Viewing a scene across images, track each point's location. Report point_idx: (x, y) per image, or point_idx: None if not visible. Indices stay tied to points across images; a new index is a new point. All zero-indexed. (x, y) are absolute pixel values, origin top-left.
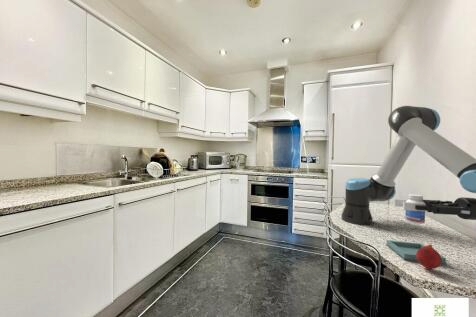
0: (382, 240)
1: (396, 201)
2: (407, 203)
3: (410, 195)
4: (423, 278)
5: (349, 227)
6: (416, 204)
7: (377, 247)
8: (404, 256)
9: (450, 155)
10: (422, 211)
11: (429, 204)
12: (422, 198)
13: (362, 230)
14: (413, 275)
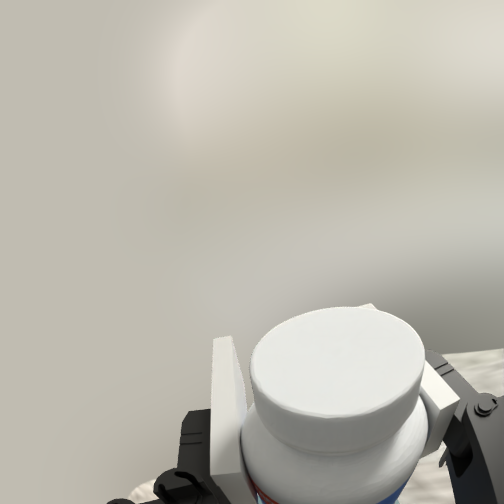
0: (429, 458)
1: None
2: (214, 357)
3: (298, 320)
4: (131, 500)
5: (482, 359)
6: (216, 411)
7: None
8: None
9: None
10: (261, 499)
11: (164, 488)
12: (281, 433)
13: (489, 390)
14: (143, 486)
